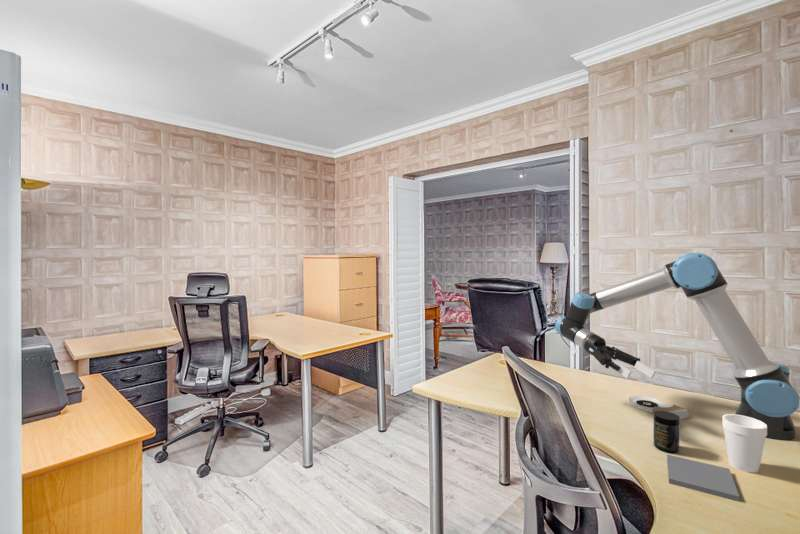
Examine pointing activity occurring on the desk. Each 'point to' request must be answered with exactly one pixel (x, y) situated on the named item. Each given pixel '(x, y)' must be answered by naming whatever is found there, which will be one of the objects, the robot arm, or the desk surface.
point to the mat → (701, 477)
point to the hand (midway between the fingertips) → (641, 374)
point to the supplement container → (666, 431)
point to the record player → (657, 406)
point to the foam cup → (744, 441)
